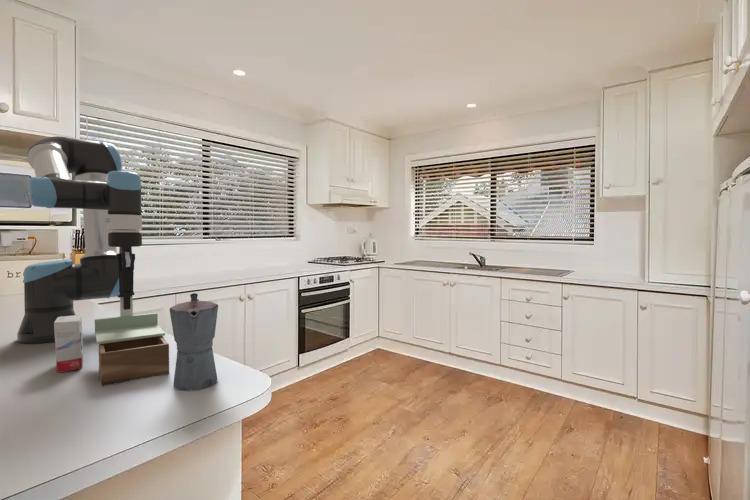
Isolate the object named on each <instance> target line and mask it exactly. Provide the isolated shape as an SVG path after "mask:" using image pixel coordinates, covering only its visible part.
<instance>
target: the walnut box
mask: <svg viewBox="0 0 750 500" xmlns="http://www.w3.org/2000/svg"><path fill="white" fill-rule="evenodd" d="M98 373H99V379H101V380H100V385H101V387H105V386H110V385H116V384H121V383H126V382H130V381H131V382H133V381H137V380H143V379H148V378H149V379H150V378H154V377H159V376H164V375H169V374H170V344H169V342H168V341H167V340H166V339H165V337H164V336H157V337H149V338H142V339H134V340H126V341H119V342H111V343H104V344H98Z"/></svg>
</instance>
